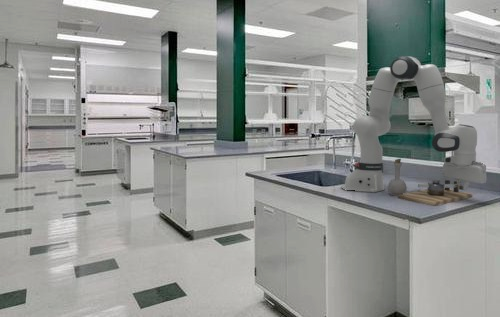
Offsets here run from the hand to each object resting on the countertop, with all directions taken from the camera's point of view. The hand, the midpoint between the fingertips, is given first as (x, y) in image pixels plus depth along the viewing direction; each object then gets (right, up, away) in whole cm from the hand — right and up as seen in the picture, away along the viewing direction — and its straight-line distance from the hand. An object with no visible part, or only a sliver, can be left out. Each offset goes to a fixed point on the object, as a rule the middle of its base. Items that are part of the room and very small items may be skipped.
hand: (462, 189), depth 164 cm
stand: (-10, -4, +4) cm, 12 cm away
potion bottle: (-25, -4, +12) cm, 28 cm away
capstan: (-8, -2, +4) cm, 10 cm away
